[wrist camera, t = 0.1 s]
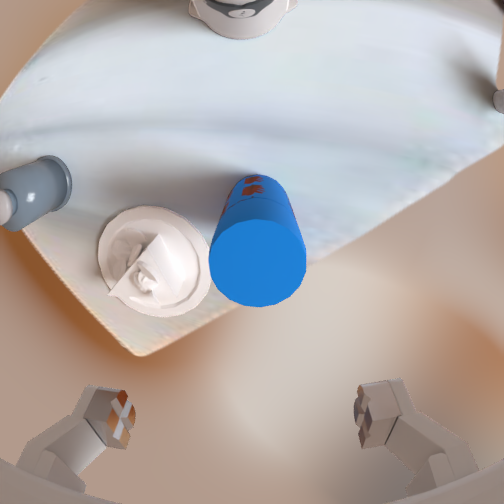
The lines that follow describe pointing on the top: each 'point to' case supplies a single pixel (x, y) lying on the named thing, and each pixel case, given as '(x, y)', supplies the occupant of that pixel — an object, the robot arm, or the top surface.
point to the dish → (155, 261)
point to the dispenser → (33, 191)
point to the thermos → (257, 245)
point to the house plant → (499, 101)
